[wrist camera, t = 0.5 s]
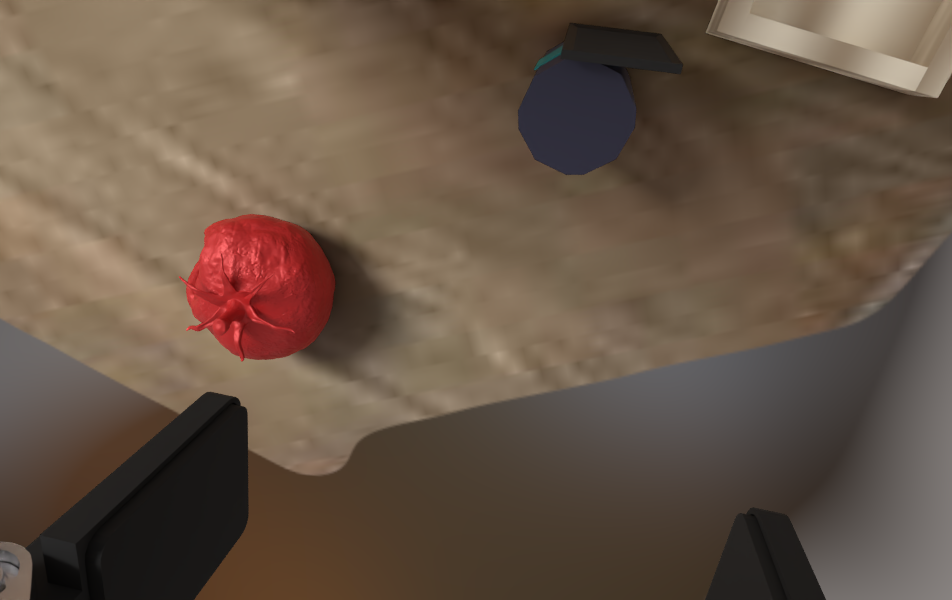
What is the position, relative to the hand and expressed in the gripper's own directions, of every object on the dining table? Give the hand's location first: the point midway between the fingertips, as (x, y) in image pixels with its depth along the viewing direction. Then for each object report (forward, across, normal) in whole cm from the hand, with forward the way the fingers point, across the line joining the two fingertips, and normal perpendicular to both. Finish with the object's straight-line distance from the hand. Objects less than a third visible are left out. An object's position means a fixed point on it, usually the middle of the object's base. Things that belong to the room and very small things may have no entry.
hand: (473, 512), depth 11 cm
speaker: (+31, -1, -7) cm, 31 cm away
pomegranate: (+31, +18, +9) cm, 37 cm away
